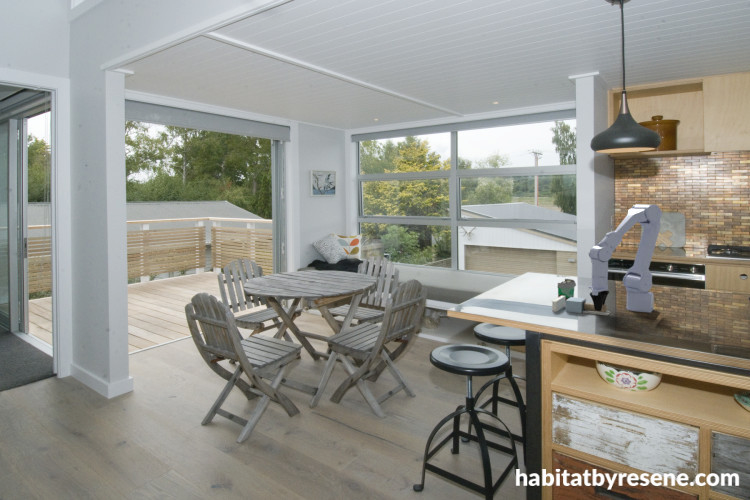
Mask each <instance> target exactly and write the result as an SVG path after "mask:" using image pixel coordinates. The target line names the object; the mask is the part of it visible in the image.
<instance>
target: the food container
mask: <svg viewBox="0 0 750 500" xmlns="http://www.w3.org/2000/svg"><path fill="white" fill-rule="evenodd" d="M575 287H577V283H576V280H575V279H571V278H564V280H563V281H561V282H557V298H558V297H560V296H565V303H566V300H567V299H569V298H570V297H575Z"/></svg>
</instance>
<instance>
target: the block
mask: <svg viewBox="0 0 750 500" xmlns="http://www.w3.org/2000/svg"><path fill="white" fill-rule="evenodd" d="M584 303H587V298H583V297H575V296H574V297H570V298H569V299H567V300H566V302H565V312H567V313H568V312H571V313H577V314H578V313H579V314H582V313H583V311H585V310H584Z"/></svg>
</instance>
